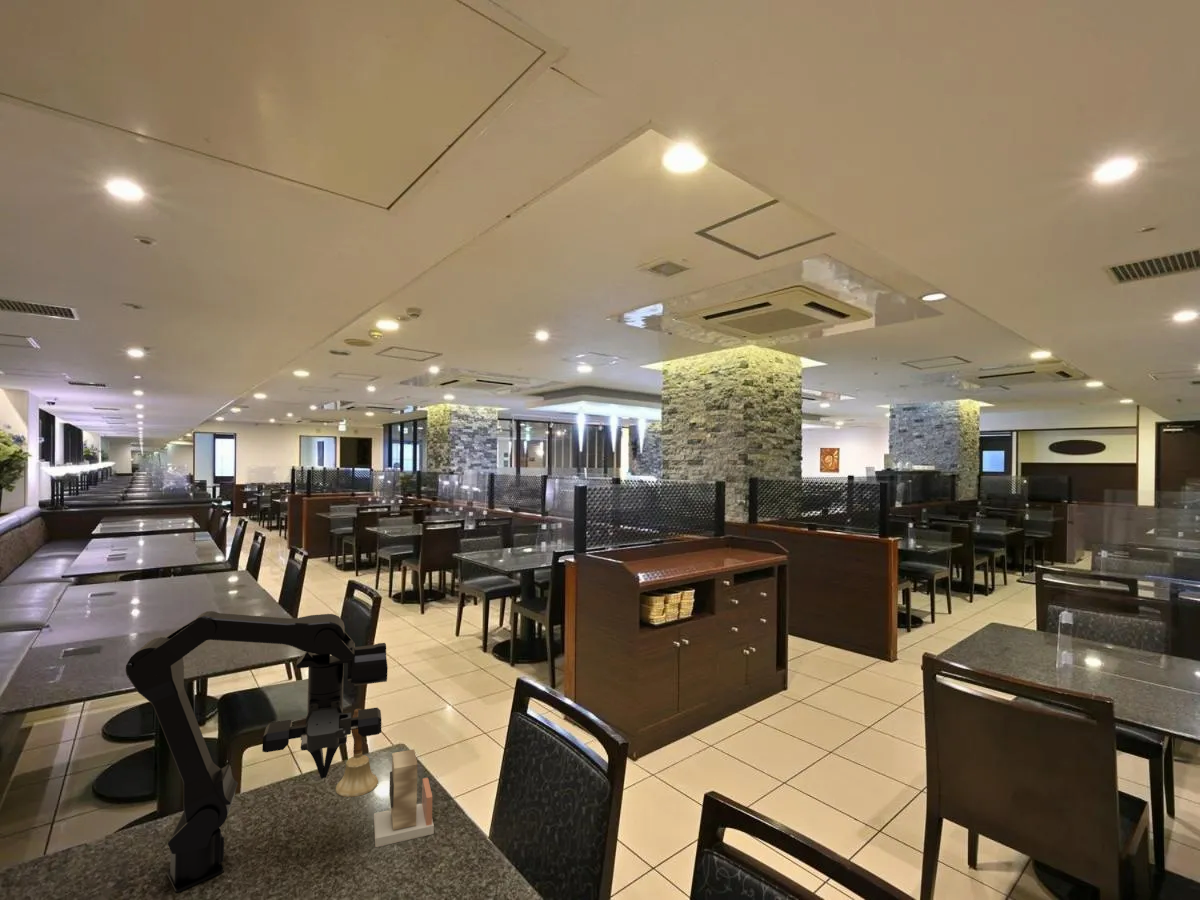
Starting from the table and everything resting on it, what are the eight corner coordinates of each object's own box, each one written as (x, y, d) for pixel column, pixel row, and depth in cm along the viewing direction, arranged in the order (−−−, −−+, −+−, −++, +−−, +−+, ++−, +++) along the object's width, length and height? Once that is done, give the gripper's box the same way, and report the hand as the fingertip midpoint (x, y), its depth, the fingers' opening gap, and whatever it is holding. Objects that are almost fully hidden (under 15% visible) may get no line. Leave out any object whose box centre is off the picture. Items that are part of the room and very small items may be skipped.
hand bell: (363, 799, 116) (364, 719, 117) (326, 794, 118) (328, 715, 119) (386, 777, 125) (387, 703, 125) (351, 773, 126) (353, 699, 127)
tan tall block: (390, 830, 104) (392, 769, 104) (388, 812, 110) (390, 753, 110) (416, 825, 106) (417, 764, 106) (413, 806, 111) (414, 749, 112)
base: (375, 847, 102) (376, 810, 102) (373, 821, 109) (374, 786, 110) (433, 833, 106) (434, 797, 106) (428, 809, 113) (429, 776, 114)
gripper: (258, 715, 92) (256, 814, 92) (383, 697, 99) (381, 790, 99) (268, 689, 102) (265, 778, 102) (380, 675, 109) (379, 758, 109)
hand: (323, 777), depth 103 cm, fingers closed
